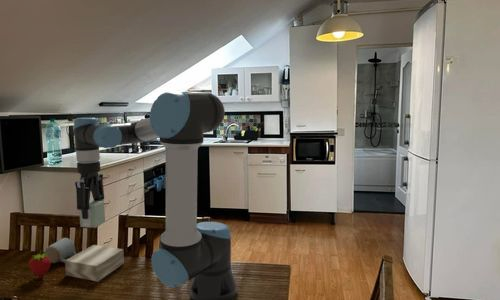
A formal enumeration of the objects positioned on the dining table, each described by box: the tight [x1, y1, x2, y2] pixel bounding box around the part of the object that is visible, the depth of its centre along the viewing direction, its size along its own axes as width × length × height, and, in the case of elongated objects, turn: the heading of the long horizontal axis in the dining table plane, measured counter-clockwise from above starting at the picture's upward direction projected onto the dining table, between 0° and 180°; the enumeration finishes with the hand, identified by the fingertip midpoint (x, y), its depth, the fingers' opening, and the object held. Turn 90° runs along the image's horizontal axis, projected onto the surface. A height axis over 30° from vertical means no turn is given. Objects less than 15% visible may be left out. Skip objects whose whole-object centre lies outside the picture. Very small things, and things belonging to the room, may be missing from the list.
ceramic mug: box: [44, 237, 77, 264], centre depth 133 cm, size 11×8×8 cm
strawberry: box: [28, 251, 52, 279], centre depth 120 cm, size 6×8×10 cm
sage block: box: [78, 199, 106, 229], centre depth 124 cm, size 6×6×8 cm
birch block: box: [64, 244, 125, 282], centre depth 127 cm, size 14×14×6 cm
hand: (92, 223), depth 124 cm, fingers closed on sage block, 6 cm apart
